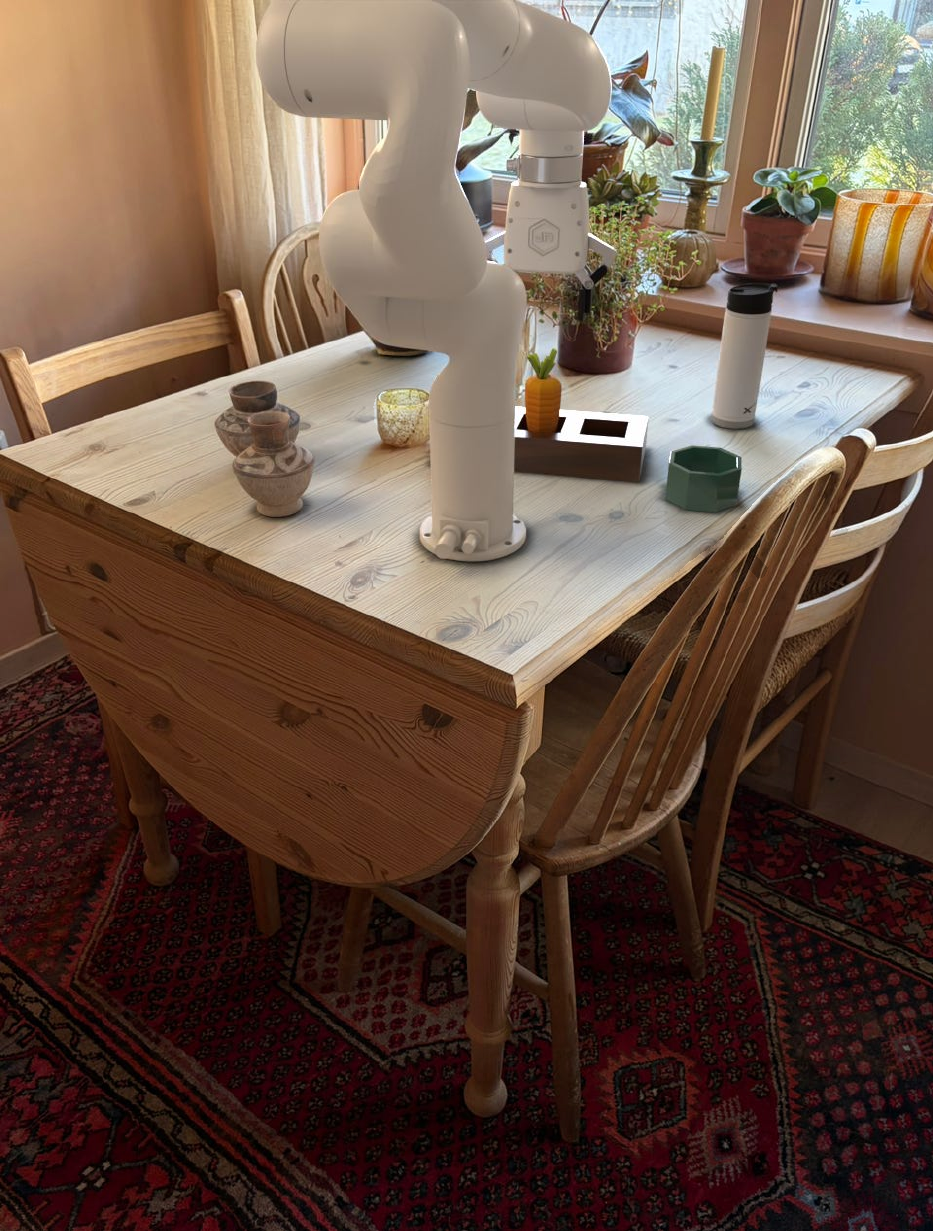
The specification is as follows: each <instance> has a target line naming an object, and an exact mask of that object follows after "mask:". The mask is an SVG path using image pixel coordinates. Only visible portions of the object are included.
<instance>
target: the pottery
mask: <svg viewBox="0 0 933 1231" xmlns="http://www.w3.org/2000/svg"><path fill="white" fill-rule="evenodd" d="M277 390H278V389H277V386H276V384H275V383H273V382H271V381H267V380H249V381H244V382H239V383H237V384H235V385H233V386H231V387H229V389H228V393H229V398H230V401H231V404H232V406H230V407H228V408H227V409H226V410H224V411H223V412H222V413H221V414H219V416H217V418H216V419H215V421H214V428H215V432H216V434H217V436H218V438H219V440H220V442H221V443H222V444H223V446H224V447H225V449H226V450H228V451H229V452H230V453H231V454H232V455H233V456H234V457H235V458H234V460H233V461H232V464H231V465H232V469H233V470H232V471H233V473H234V475H235V477H236V479H237V481H238V483H239V485H240V486H241V488H242V489H243V490H244V492H245V493H246V494H247V495H248V496H249V497H250V498H252V499H253V500H255V501H256V502H257V504H256V510H257V512H258V513H259V514H261V515H263V516H266V517H271V518H280V517H281V518H283V517H288V516H291V515H293V514H295V513H297V512H299V511H300V510H302V509H303V506H304V501H303V499H302V496H303V495H304V494H305V493H306V491H307V490H308V488H309V486H310V483H311V480H312V476H313V472H314V467H315V455H314V454H313V453H312V451H310V450H309V449H307V448H306V447H304V446H302V445H300V444H297V443H296V440H297V438H298V435H299V433H300V427H301V426H300V424H301V416H300V414H299V413H298V412H297V411H296V410H294V409H293V408H291V407H289V406H287V405H285V404H282V403H280V402H278V391H277Z"/></svg>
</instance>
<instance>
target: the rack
mask: <svg viewBox="0 0 933 1231" xmlns="http://www.w3.org/2000/svg"><path fill="white" fill-rule="evenodd" d="M649 418H650V417H649V416H648V415H647V416H646V415H637V414H621V413H607V412H595V411H581V410H567V409H560V414H559V420H558V424H557V428H556V432H555V433H551V432H539V431H528V426H527V420H526V414H525V406H515V449H514V473H515V472H516V473H525V474H539V475H547V476H549V475H550V476H561V477H572V478H583V479H593V480H594V479H595V480H608V481H617V482H618V481H620V482H628V483H629V482H631V483H640V481H641V475H642V469H643V466H644V460H645V456H646V449H647V438H648V427H649V420H650V419H649Z"/></svg>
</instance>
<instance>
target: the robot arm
mask: <svg viewBox="0 0 933 1231" xmlns="http://www.w3.org/2000/svg"><path fill="white" fill-rule="evenodd" d="M257 30H258V31H257V36H256V42H255V62H256V64H255V65H256V68H257V74H258V77H259V80H260V82H261V85H262V87H263V90H264V91H265V92H266V94H267V96H268V98H269V99H270V100H271V101H272V102H273V103H274V104H275V105H276V106H277V107H278V108H280V109H281V110H283V111H284V112H286V113H288V114H291V115H294V116H297V117H301V118H303V117H304V118H312V119H313V118H315V119H319V118H320V119H341V120H342V119H343V120H365V121H366V120H369V121H388V125H387V130H386V133H385V136H383V137H382V139H381V140H380V141H379V142H378V143H377V145H376V146H375V147H374V149H373V150H372V152H371V154H370V155H369V157H368V159H367V160H366V162H365V165H364V167H363V169H362V171H361V174H360V178H359V180H360V181H358V184H359V190H358V189H352V190H347V191H345V192H343V193H340V194H339V195H338V196H336V197H334V198H333V200H332V201H331V202H330V203H329V204H327V206H326V209H325V210H324V212H323V215H322V217H321V220H320V225H319V230H318V249H319V250H318V251H319V256H320V257H319V258H320V262H321V266H322V270H323V272H324V275H325V277H326V279H327V282H328V283H329V285H330V287H331V288H332V289H333V291H334V292H335V294H336V295H337V297H338V298H339V299H340V300H341V301H342V303H343V304H344V305H345V306H346V308H347V309H348V311H349V312H350V313H351V315H352V316H353V318H355V319H356V321H357V322H358V324H359V323H360V324H361V326H362V327H363V328H364V329H365V330H366V332H367V333H368V334H369V335H370V336H371V337H373V338H374V339H375V340H377V341H379V342H381V343H383V344H386V345H391V346H397V347H404V348H412V349H420V350H428V352H429V351H431V352H435V353H441V354H446V355H447V356H448V357H449V360H448V363H447V365H446V366H445V367H444V368H443V369H442V371H441V372H440V373H439V374H438V375H437V376H436V378H435V379H434V381H433V382H432V384H431V386H430V390H429V393H428V419H429V420H428V424H429V425H428V426H429V427H428V428H429V429H428V430H429V456H430V457H429V458H430V459H429V462H430V492H431V493H430V494H431V495H430V496H431V514H430V515H429V516H427V517H426V518H425V519H424V520H422V522H421V524H420V526H419V541H420V544H421V545H422V546H423V547H424V548H425V549H426V550H427V551H429V552H430V553H431V554H434V555H436V557H438V558H439V559H443V560H446V559H447V560H453V561H459V562H487V561H492V560H496V559H500V558H504V557H506V556H509V555H511V554H512V553H515V552H516V551H517V550H519V549H520V548H521V547H522V546H523V545H524V543H525V542H526V538H527V527H526V524H525V522H524V521H523V520H522V519H521V518H520V517H519V516H518V515H517V514H514V500H515V499H514V498H515V494H514V493H515V492H514V491H515V489H514V488H515V472H514V449H515V407H516V395H517V394H516V392H517V374H518V373H517V372H518V362H519V355H520V347H521V341H522V336H523V331H524V325H525V320H526V316H527V314H526V313H527V303H528V302H527V301H528V299H527V298H528V297H527V296H528V295H527V290H526V286H525V284H524V281H523V279H522V278H521V277H520V275H519V274H518V273H517V272H519V273H533V274H535V273H536V274H556V275H573V274H574V275H575V276H576V277H577V278H578V280H579V282H580V283H581V286H580V288H579V290H578V305H577V306H578V307H577V308H578V309H577V321H579V322H584V321H585V319H586V317H587V314H591V313H592V309H593V308H592V305H593V293H594V292H593V291H594V286H595V285H597V283H598V282H600V281H601V280H602V279H603V278H604V277H605V276H606V275H607V274H608V272H609V271H610V269H611V267H612V265H613V263H614V262H615V260H616V259H617V256H618V254H619V252H618V250H617V249H616V248H615V247H613V246H611V245H609V243H606V242H604V240H601V239H599V238H598V237H596V236H595V235H593V234H592V233H590V204H589V192H588V185H587V183H586V182H584V181H582V179H583V178H582V176H583V161H584V160H583V158H584V141H585V140H584V138H585V137H584V136H585V132H588V131H592V130H594V129H595V128H597V127H599V125H600V124H601V123H602V122H603V120H604V119H605V118H606V116H607V113H608V112H609V108H610V105H611V101H612V92H613V91H612V88H613V86H612V85H613V84H612V75H611V70H610V67H609V64H608V61H607V58H606V56H605V55H604V52H603V51H602V49H601V48H600V46H599V44H598V42H597V41H596V39H595V38H594V37H593V36H592V35H591V34H590V33H589V32H588V31H587V30H585V29H584V28H583V27H581V26H579V25H577V24H574V23H573V22H570V21H569V20H566V19H564V18H562V17H559V16H556V15H553V14H551V13H549V12H547V11H544V10H542V9H540V8H538V7H536V6H533V5H530V4H528V3H525V2H522V1H519V0H272V1H271V2H270V4H269V5H268V7H267V9H266V10H265V12H264V15H263V17H262V18H261V22H260V24H259V27H258V29H257ZM468 90H472V91H475V93H476V103H477V107H478V110H479V112H480V113H481V115H482V116H483V118H484V119H485V121H487V122H488V123H489V124H491V125H492V126H495V127H497V128H500V129H504V130H505V129H507V130H519V138H518V139H519V141H518V142H519V144H518V154H517V156H516V157H513V158H507V159H506V165H505V166H506V168H505V169H506V172H512V173H515V175H516V179H517V180H516V181H513V182H512V183H511V185H510V189H509V193H508V199H507V207H506V215H505V225H504V226H505V227H504V228H505V229H504V231H503V232H501V233H499V234H497V235H495V236H493V237H491V238H488V240H485V238H484V235H483V232H482V229H481V226H480V224H479V222H478V220H477V218H476V215H475V213H474V211H473V209H472V206H471V204H470V202H469V200H468V198H467V195H466V194H465V192H464V189H463V187H462V185H461V182H460V180H459V178H458V176H457V172H456V165H457V164H456V163H457V156H458V152H459V147H460V141H461V136H462V131H463V125H464V118H465V112H466V107H467V98H468ZM501 246H503V264H501V263H499V262H498V261H497V260H496V258H495V257H494V253H493V251H494V250H496V249H498V248H500V247H501ZM590 250H591V251H593V252H595V253H597V254H598V255H600V256H602V260H601V263H600V264H599V265H598V266H597V267H596V268H595V269H594V270H591V268H590V267H589V266H588V264H587V262H588V261H589V255H590Z"/></svg>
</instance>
